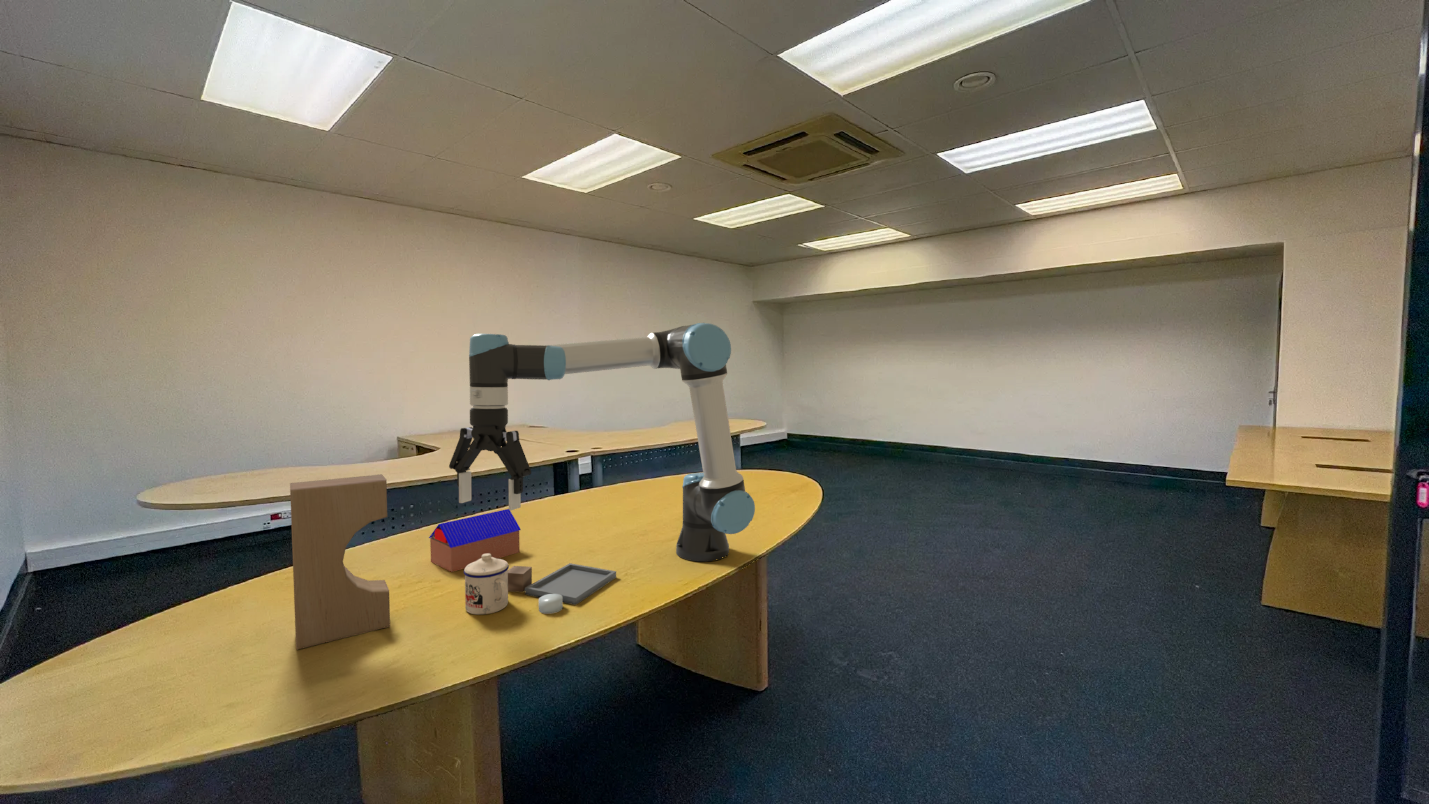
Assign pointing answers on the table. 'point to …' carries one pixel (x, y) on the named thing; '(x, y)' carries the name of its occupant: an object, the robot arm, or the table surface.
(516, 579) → the walnut cube
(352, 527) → the decorative block
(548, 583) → the tray
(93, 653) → the table surface
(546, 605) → the white egg-shaped dome
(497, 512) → the house
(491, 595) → the teacup with lid
